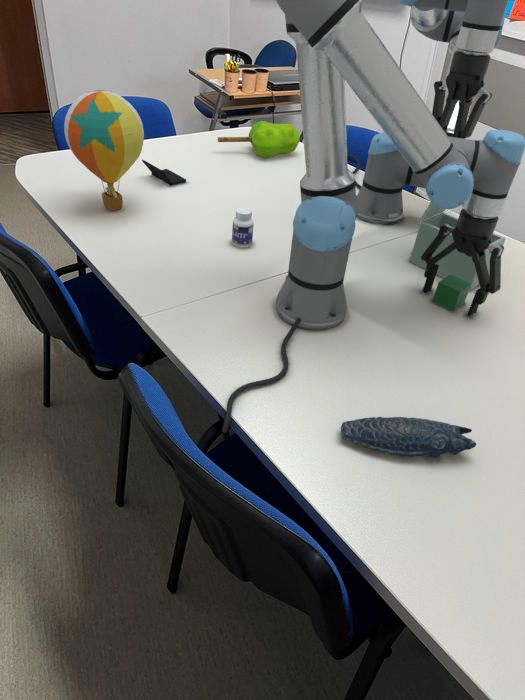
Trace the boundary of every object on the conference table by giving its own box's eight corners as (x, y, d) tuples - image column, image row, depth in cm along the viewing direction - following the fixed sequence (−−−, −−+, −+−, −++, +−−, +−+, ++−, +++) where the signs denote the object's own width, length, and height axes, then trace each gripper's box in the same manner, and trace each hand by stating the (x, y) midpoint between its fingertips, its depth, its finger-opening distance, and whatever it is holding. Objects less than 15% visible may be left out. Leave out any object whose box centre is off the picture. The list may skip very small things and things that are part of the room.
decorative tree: (215, 117, 188) (295, 117, 193) (215, 147, 195) (292, 146, 200) (221, 131, 174) (307, 131, 180) (221, 163, 181) (304, 161, 186)
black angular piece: (190, 175, 164) (173, 153, 156) (179, 193, 163) (161, 172, 155) (166, 170, 170) (147, 148, 162) (155, 188, 169) (136, 167, 161)
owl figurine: (474, 470, 81) (484, 449, 78) (339, 453, 82) (344, 431, 79) (465, 439, 86) (475, 417, 83) (339, 423, 87) (344, 401, 84)
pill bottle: (228, 244, 133) (229, 212, 128) (236, 236, 137) (237, 204, 132) (247, 249, 132) (249, 216, 126) (255, 241, 136) (257, 209, 130)
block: (464, 303, 120) (471, 283, 116) (452, 311, 117) (460, 291, 113) (443, 293, 123) (450, 274, 119) (432, 301, 119) (438, 281, 116)
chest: (489, 278, 130) (506, 238, 123) (469, 290, 124) (485, 249, 118) (431, 250, 140) (442, 212, 133) (409, 261, 134) (420, 221, 127)
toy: (64, 203, 145) (44, 85, 127) (127, 189, 156) (117, 79, 137) (97, 229, 134) (80, 105, 116) (162, 213, 145) (156, 96, 126)
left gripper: (544, 229, 101) (503, 320, 115) (440, 189, 114) (415, 275, 128) (526, 239, 97) (486, 332, 111) (421, 196, 110) (397, 284, 124)
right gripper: (515, 57, 106) (476, 171, 121) (451, 44, 115) (423, 152, 129) (497, 60, 102) (459, 177, 117) (432, 46, 110) (405, 157, 125)
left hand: (448, 301), depth 119 cm, fingers open, 11 cm apart
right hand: (440, 164), depth 123 cm, fingers closed on lid, 2 cm apart
